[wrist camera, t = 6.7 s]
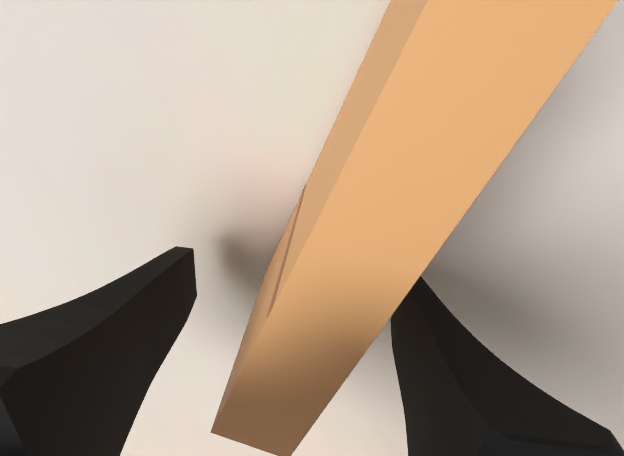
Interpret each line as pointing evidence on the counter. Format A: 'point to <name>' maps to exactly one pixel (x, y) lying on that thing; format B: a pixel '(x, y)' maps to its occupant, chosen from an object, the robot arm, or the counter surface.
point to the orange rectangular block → (392, 193)
